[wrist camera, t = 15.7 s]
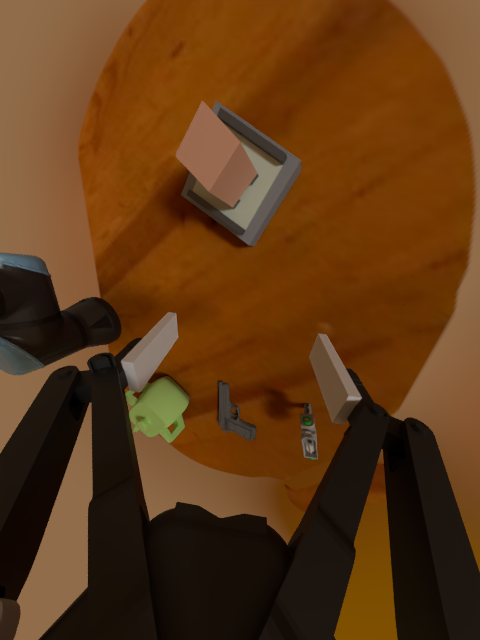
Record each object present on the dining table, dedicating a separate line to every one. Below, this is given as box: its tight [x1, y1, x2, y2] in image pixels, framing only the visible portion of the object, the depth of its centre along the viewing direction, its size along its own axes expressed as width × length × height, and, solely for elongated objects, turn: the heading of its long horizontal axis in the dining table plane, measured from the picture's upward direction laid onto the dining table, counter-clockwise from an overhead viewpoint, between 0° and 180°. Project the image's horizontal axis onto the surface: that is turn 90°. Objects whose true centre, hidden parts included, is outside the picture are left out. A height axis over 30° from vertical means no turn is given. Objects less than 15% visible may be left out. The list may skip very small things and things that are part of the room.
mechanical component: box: [300, 404, 318, 460], centre depth 41 cm, size 3×10×10 cm, turn 12°
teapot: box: [125, 376, 190, 443], centre depth 55 cm, size 18×20×13 cm
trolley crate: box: [175, 100, 259, 209], centre depth 26 cm, size 6×6×10 cm
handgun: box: [217, 380, 256, 441], centre depth 53 cm, size 18×2×12 cm
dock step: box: [181, 101, 301, 246], centre depth 32 cm, size 16×14×6 cm
